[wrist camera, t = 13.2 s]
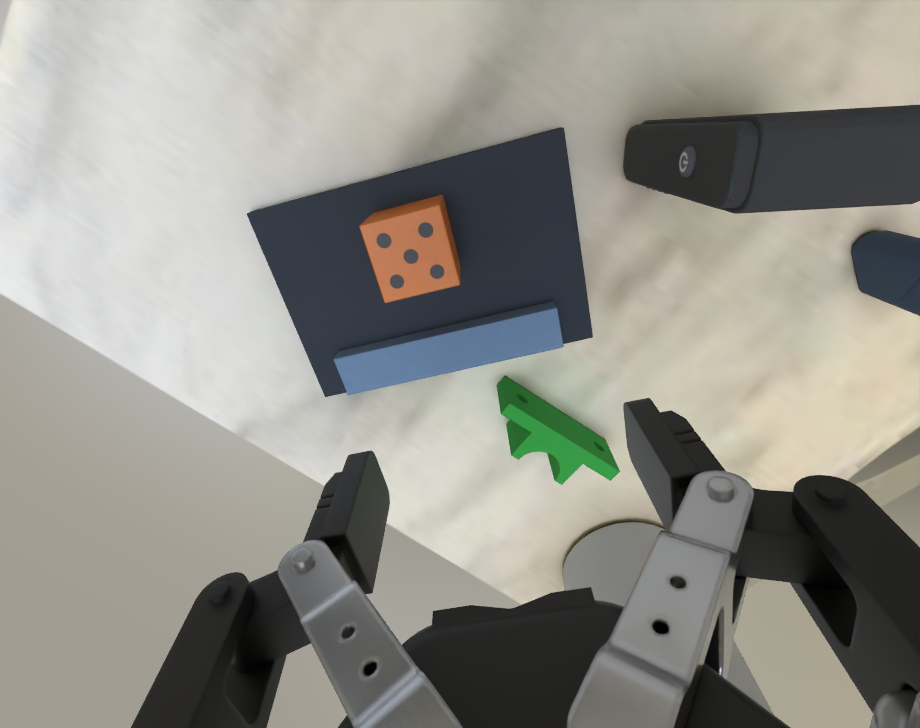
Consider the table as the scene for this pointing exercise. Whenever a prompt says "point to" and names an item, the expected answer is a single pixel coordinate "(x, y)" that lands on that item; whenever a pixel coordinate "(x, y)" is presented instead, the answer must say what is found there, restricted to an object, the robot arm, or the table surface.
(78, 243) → the table surface
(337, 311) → the bed mat
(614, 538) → the cylinder vase
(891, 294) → the vaping device
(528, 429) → the pipe clamp
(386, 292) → the die
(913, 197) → the dark grey rounded box
